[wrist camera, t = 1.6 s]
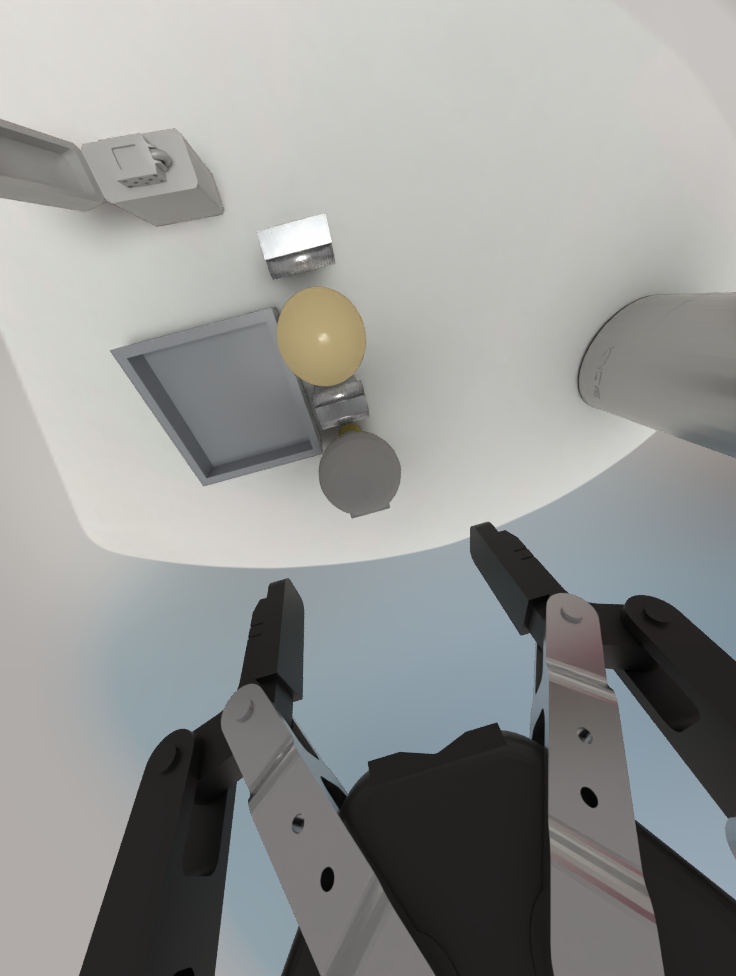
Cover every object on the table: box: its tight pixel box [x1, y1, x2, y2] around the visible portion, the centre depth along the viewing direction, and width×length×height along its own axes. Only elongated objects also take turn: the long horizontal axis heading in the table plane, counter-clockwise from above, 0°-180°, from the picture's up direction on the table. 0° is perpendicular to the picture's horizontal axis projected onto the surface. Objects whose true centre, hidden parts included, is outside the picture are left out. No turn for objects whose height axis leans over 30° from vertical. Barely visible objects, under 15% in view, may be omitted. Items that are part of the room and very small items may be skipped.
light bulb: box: [319, 424, 401, 515], centre depth 20 cm, size 6×6×10 cm
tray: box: [110, 307, 323, 486], centre depth 20 cm, size 10×10×2 cm
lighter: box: [0, 119, 224, 226], centre depth 12 cm, size 7×2×8 cm, turn 100°
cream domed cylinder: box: [277, 287, 366, 386], centre depth 16 cm, size 4×4×8 cm
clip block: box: [256, 213, 390, 518], centre depth 20 cm, size 3×17×6 cm, turn 12°
